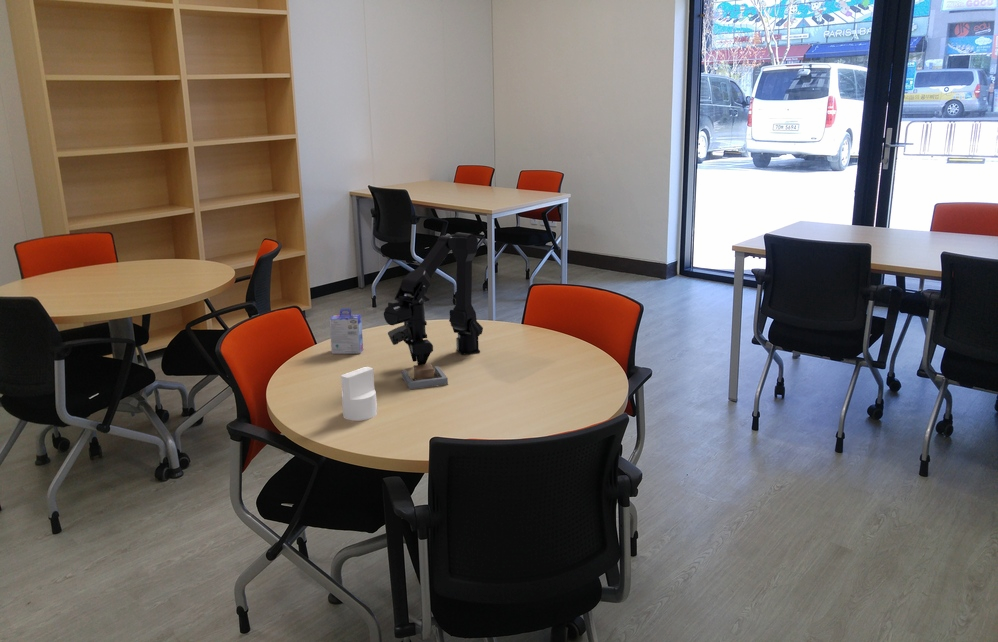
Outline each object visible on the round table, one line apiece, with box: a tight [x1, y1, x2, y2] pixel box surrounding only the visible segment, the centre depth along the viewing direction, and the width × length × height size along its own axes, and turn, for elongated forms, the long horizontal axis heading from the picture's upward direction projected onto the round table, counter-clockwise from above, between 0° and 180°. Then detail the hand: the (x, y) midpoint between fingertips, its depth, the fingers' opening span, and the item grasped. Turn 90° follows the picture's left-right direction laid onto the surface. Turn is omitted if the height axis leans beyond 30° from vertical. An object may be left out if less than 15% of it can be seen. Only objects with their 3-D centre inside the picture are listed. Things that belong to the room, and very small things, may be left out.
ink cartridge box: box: [328, 308, 364, 355], centre depth 252 cm, size 10×6×14 cm, turn 89°
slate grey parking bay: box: [401, 365, 449, 390], centre depth 226 cm, size 11×11×2 cm
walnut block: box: [413, 363, 435, 381], centre depth 227 cm, size 5×5×4 cm
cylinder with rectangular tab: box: [340, 366, 378, 422], centre depth 202 cm, size 9×9×12 cm
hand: (417, 366), depth 234 cm, fingers open, 9 cm apart
